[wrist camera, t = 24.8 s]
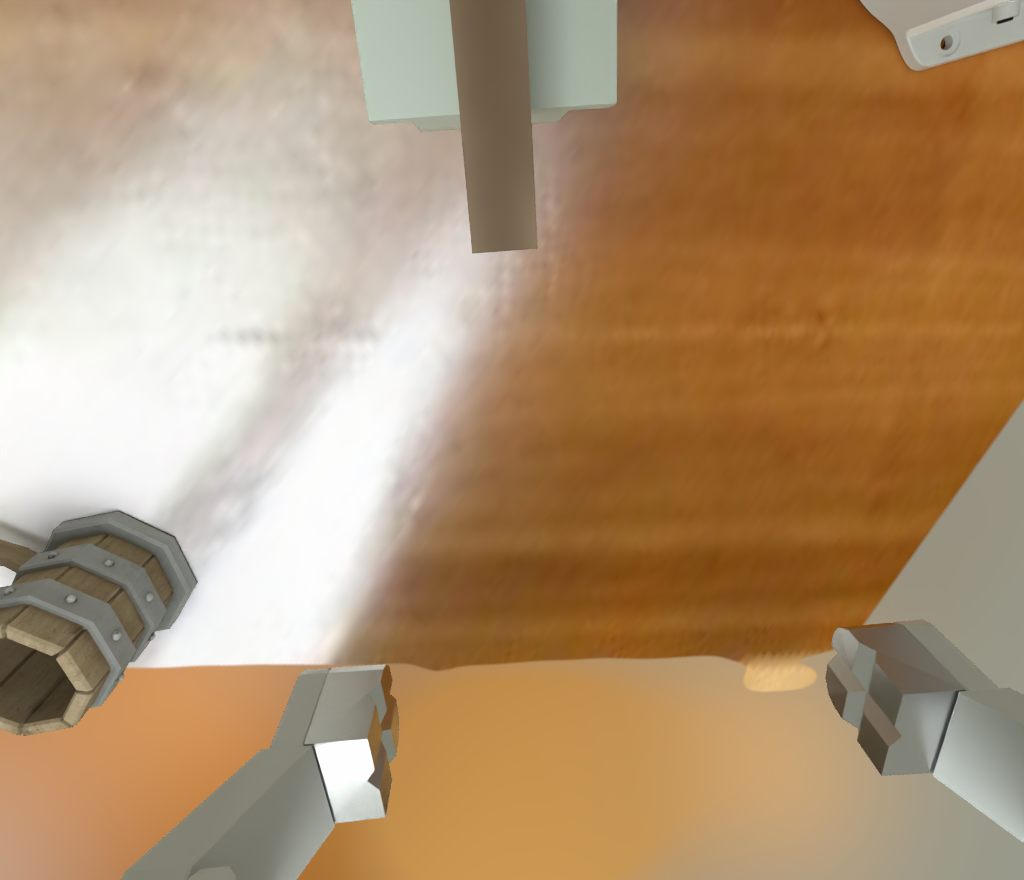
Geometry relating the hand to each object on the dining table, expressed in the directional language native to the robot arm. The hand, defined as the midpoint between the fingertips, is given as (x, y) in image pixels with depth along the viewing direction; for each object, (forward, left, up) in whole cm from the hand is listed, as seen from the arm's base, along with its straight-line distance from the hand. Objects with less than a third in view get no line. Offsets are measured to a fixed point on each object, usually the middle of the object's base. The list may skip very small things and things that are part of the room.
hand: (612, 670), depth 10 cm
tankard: (+42, +20, -39) cm, 61 cm away
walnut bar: (+1, -15, -24) cm, 28 cm away
